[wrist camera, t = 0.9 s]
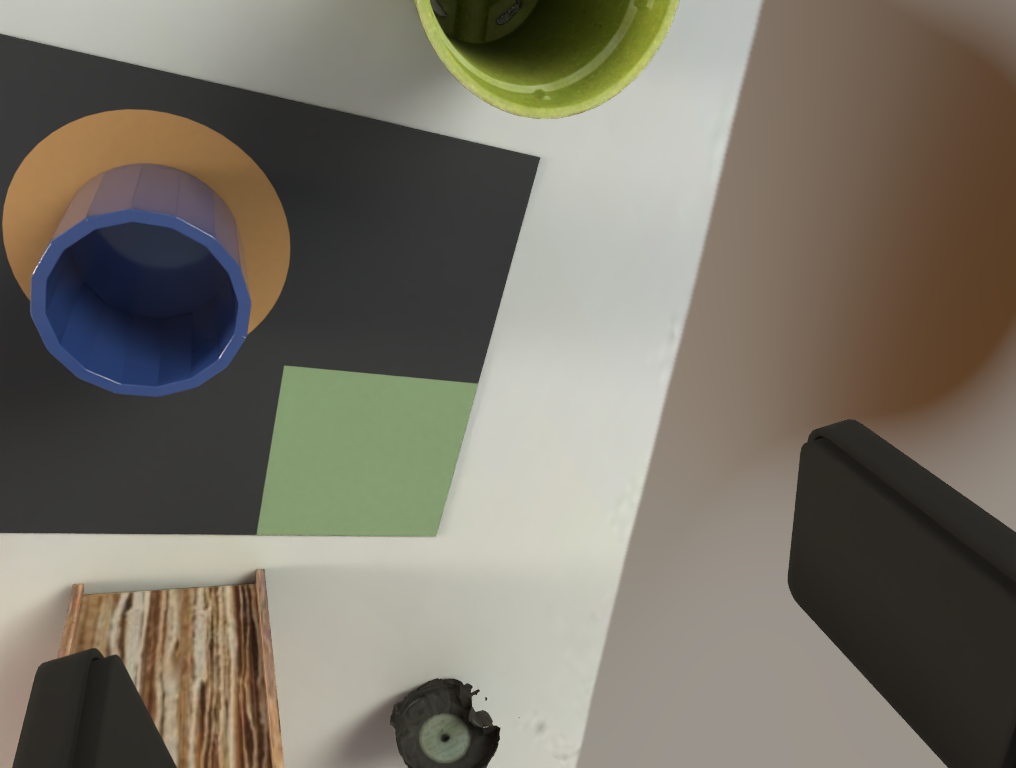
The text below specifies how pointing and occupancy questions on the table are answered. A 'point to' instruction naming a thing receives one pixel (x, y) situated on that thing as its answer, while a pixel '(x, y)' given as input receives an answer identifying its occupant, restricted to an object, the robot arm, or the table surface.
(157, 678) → the book
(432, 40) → the plant pot
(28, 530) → the desk mat
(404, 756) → the artificial flower
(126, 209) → the blue cup
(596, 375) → the table surface
